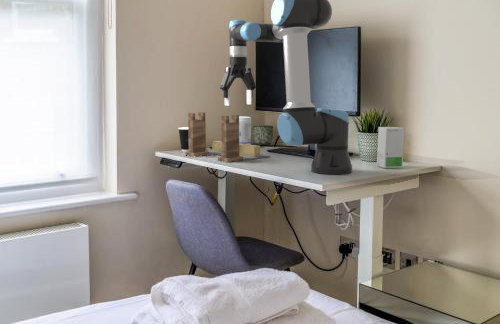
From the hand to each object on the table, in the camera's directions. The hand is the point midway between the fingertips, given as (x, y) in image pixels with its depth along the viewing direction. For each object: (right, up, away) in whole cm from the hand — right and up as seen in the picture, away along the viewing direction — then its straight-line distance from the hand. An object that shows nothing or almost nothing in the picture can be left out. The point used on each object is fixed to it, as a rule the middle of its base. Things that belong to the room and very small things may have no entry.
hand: (238, 105), depth 245 cm
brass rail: (-2, -21, +4) cm, 22 cm away
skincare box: (+60, -27, -30) cm, 72 cm away
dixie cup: (-25, -20, +16) cm, 36 cm away
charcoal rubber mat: (-2, -22, +4) cm, 22 cm away
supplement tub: (+1, -17, +35) cm, 39 cm away
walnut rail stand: (-11, -23, -5) cm, 26 cm away
